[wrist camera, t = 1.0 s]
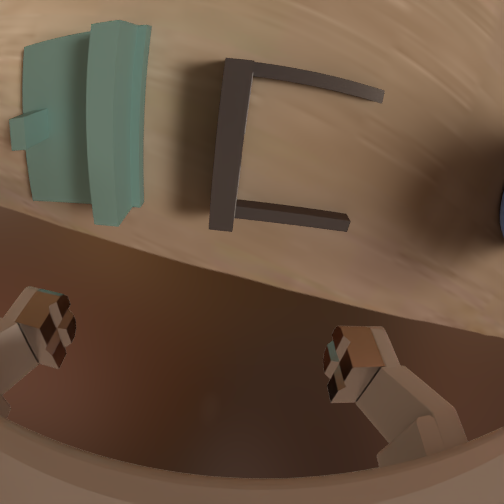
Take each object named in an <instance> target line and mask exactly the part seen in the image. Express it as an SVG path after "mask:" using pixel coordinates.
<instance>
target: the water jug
mask: <svg viewBox="0 0 504 504" xmlns="http://www.w3.org/2000/svg"><path fill="white" fill-rule="evenodd" d="M500 226H501V231H502V234H503V237H504V192H503V195H502V200H501V206H500Z"/></svg>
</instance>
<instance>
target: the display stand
mask: <svg viewBox="0 0 504 504" xmlns="http://www.w3.org/2000/svg"><path fill="white" fill-rule="evenodd" d="M151 27H152V26H149V25H135V24H132V23H129V22H126V21H122V20H115V21H108V22H101V23H95V24H91V31H90V32H84V33H79V34H74V35H69V36H64V37H60V38H55V39H51V40H47V41H44V42H40V43H36V44H33V45H29V46H26V47H24V58H23V86H22V96H23V114H22V115H19V116H17V117H14V118H12V119H9V125H10V137H11V147H12V151H15V150H26V158H27V166H28V173H29V180H30V186H31V192H32V198H33V201H53V202H70V203H86V204H92V209H93V217H94V224H96V225H107V226H119V225H120V224H121V222H122V221H123V219H124V218H125V217H126V215H127V214H128V212H129V211H130V210H131V208H132V207H141V206H142V204H143V203H144V187H143V132H144V105H145V88H146V75H147V63H148V53H149V44H150V35H151Z"/></svg>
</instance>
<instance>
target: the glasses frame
mask: <svg viewBox="0 0 504 504" xmlns="http://www.w3.org/2000/svg"><path fill="white" fill-rule="evenodd" d="M253 76H256V77H264V78H271V79H277V80H284V81H289V82H295V83H301V84H306V85H311V86H316V87H320V88H325V89H329V90H334V91H338V92H342V93H346V94H350V95H354V96H357V97H361V98H365V99H368V100H372V101H375V102H378V103H382V101H383V97H384V92H385V91H384V90H381V89H377V88H374V87H371V86H368V85H364V84H361V83H357V82H354V81H350V80H346V79H342V78H338V77H334V76H330V75H326V74H321V73H317V72H312V71H307V70H302V69H297V68H291V67H285V66H279V65H273V64H266V63H258V62H254V61H252V60H243V59H233V58H226V59H225V67H224V74H223V82H222V90H221V98H220V107H219V116H218V125H217V136H216V146H215V157H214V167H213V178H212V190H211V203H210V218H209V229H211V230H220V231H230V232H232V230H233V221H234V218H239V219H248V220H257V221H265V222H274V223H282V224H290V225H298V226H306V227H314V228H322V229H329V230H337V231H344V232H347V230H348V227H349V224H350V220H349V218H348V216H347V214H343V213H336V212H330V211H323V210H316V209H309V208H302V207H295V206H287V205H279V204H271V203H263V202H255V201H246V200H237V192H238V184H239V176H240V168H241V158H242V147H243V140H244V134H245V129H246V122H247V114H248V107H249V100H250V93H251V86H252V79H253Z"/></svg>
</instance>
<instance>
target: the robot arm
mask: <svg viewBox="0 0 504 504" xmlns="http://www.w3.org/2000/svg"><path fill="white" fill-rule="evenodd" d="M69 307H70V301H69V298H68V296H66V295H64V294H60V293H56V292H52V291H48V290H44V289H39V288H35V287H31V286H29V287H27V288H25V289H24V291H23V292H22V294H21V295H20V296H19V297H18V299H17V300H16V301H15V302H14V304H13V305H12V307H11V308H10V309H9V311H8V312H7V313H6V315H5V316H4V318H0V504H504V427H502V428H500V429H497V430H495V431H493V432H491V433H488V434H486V435H484V436H481V437H479V438H476V439H474V440H471V441H469V442H468V441H467V438H466V436H465V433H464V430H463V428H462V425H461V423H460V420H459V417H458V415H457V412H456V410H455V408H454V407H453V406H452V405H451V404H449V403H448V402H447V401H446V400H445V399H443V398H442V397H441V396H440V395H439V394H437V393H436V392H435V391H434V390H433V389H431V388H430V387H429V386H428V385H427V384H426V383H424V382H423V381H422V380H421V379H420V378H418V377H417V376H416V375H415V374H413V373H412V372H411V371H410V370H409V369H408V368H406V367H405V366H400V364H399V361H398V359H397V356H396V354H395V352H394V349H393V347H392V345H391V342H390V340H389V338H388V335H387V333H386V331H385V329H384V328H383V327H381V326H368V327H365V326H337V327H336V328H335V329H334V331H333V333H332V338H333V341H332V342H330V343H329V344H328V345H327V346H326V349H325V351H324V357H323V368H324V373H325V374H326V375H327V376H328V377H329V378H330V381H329V382H328V384H327V388H328V392H329V398H330V402H331V403H349V402H356V405H357V406H358V407H359V408H360V409H361V410H362V412H363V413H364V414H365V415H366V416H367V418H368V419H369V420H370V421H371V422H372V424H373V425H374V426H375V427H376V428H377V429H378V431H379V432H380V433H381V434H382V435H383V437H384V438H385V439H386V440H387V441H388V443H389V445H387V446H386V447H385V448H384V449H382V450H381V451H380V452H379V453H378V454H377V460H378V464H379V468H374V469H368V470H362V471H356V472H349V473H342V474H334V475H325V476H314V477H301V478H276V479H275V478H274V479H253V478H250V479H249V478H229V477H215V476H203V475H193V474H186V473H179V472H172V471H166V470H160V469H155V468H150V467H144V466H140V465H135V464H131V463H127V462H122V461H118V460H114V459H111V458H107V457H104V456H100V455H97V454H93V453H90V452H87V451H84V450H80V449H78V448H74V447H72V446H69V445H66V444H63V443H61V442H58V441H55V440H52V439H50V438H48V437H45V436H43V435H40V434H38V433H36V432H33V431H31V430H29V429H27V428H24V427H22V426H20V425H18V424H16V423H14V422H12V421H10V420H8V419H7V417H8V414H9V411H10V409H11V408H10V405H9V403H8V402H7V401H6V400H5V399H4V397H3V396H2V395H3V394H4V393H5V392H7V391H8V390H9V389H10V388H11V387H12V386H14V385H15V384H16V383H17V382H18V381H20V380H21V379H22V378H23V377H24V376H25V375H27V374H28V373H29V372H30V371H31V370H33V369H34V368H35V367H36V366H37V365H38V363H39V364H43V365H46V366H50V367H54V368H57V369H59V368H60V366H61V364H62V362H63V360H64V357H65V356H66V349H65V347H66V346H68V345H69V344H70V343H72V341H73V339H74V337H75V332H76V320H75V317H74V315H73V313H72V312H70V310H69V309H68V308H69Z"/></svg>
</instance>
